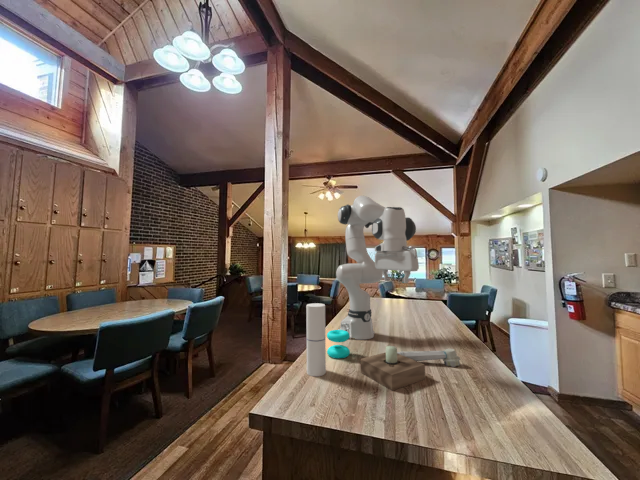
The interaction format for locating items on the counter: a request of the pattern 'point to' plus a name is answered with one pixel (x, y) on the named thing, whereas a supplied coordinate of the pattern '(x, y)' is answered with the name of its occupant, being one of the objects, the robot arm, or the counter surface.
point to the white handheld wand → (434, 356)
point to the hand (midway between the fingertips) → (395, 281)
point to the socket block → (393, 371)
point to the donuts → (338, 350)
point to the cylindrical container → (316, 339)
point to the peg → (391, 355)
